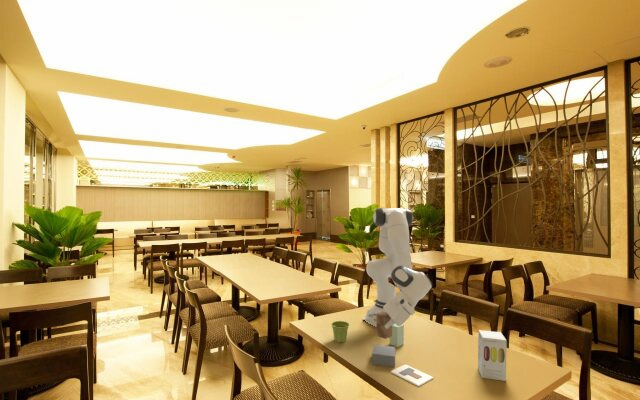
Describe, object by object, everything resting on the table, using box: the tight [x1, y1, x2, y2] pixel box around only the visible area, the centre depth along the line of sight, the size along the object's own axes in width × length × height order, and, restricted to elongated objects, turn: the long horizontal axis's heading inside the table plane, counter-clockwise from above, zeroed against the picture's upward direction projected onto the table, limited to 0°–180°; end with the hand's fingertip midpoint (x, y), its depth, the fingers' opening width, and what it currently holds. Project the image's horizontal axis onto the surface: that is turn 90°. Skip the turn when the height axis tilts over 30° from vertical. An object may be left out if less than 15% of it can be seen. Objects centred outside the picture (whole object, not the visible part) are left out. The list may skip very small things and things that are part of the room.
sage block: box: [389, 324, 405, 348], centre depth 171 cm, size 5×5×10 cm
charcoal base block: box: [371, 344, 396, 368], centre depth 153 cm, size 10×10×5 cm
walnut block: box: [376, 312, 392, 340], centre depth 153 cm, size 5×5×10 cm
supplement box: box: [477, 329, 508, 382], centre depth 142 cm, size 10×9×17 cm
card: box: [390, 364, 434, 387], centre depth 140 cm, size 14×10×1 cm
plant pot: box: [330, 320, 350, 343], centre depth 175 cm, size 9×9×9 cm
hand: (382, 324), depth 153 cm, fingers closed on walnut block, 7 cm apart
